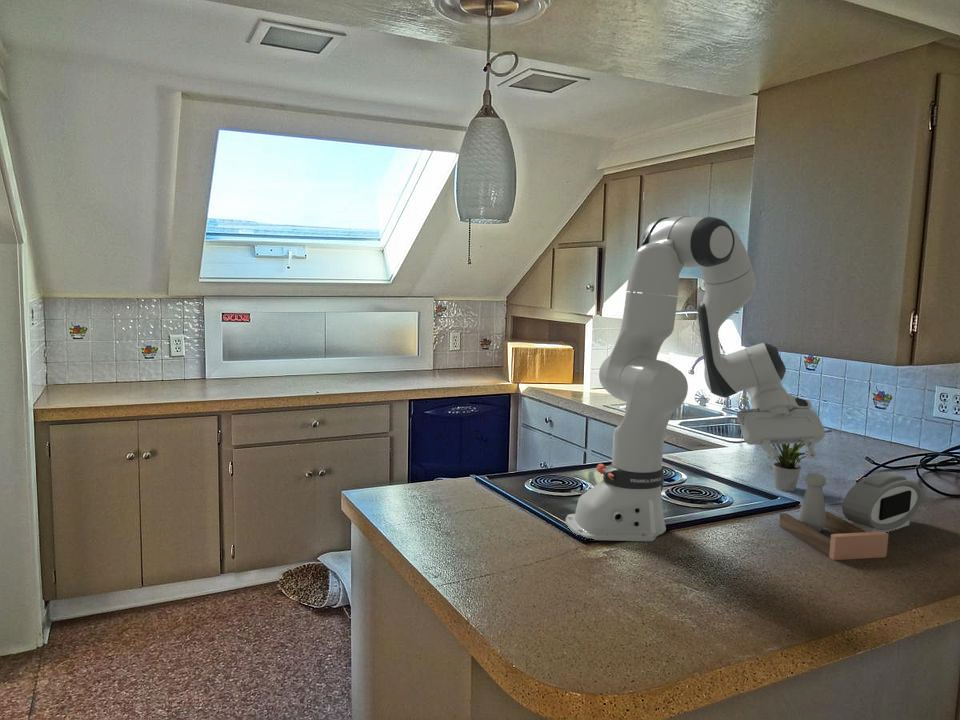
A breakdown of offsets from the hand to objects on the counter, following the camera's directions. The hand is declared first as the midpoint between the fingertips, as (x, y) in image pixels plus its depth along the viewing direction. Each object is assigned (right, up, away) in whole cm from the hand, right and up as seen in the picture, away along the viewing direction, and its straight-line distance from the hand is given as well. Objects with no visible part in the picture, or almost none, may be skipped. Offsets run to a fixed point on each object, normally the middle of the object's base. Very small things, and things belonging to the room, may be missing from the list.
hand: (793, 457), depth 175 cm
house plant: (+7, -12, +25) cm, 28 cm away
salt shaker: (+1, -16, -6) cm, 17 cm away
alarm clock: (+18, -16, -5) cm, 25 cm away
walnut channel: (+2, -16, -12) cm, 21 cm away
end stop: (+4, -18, -22) cm, 28 cm away
